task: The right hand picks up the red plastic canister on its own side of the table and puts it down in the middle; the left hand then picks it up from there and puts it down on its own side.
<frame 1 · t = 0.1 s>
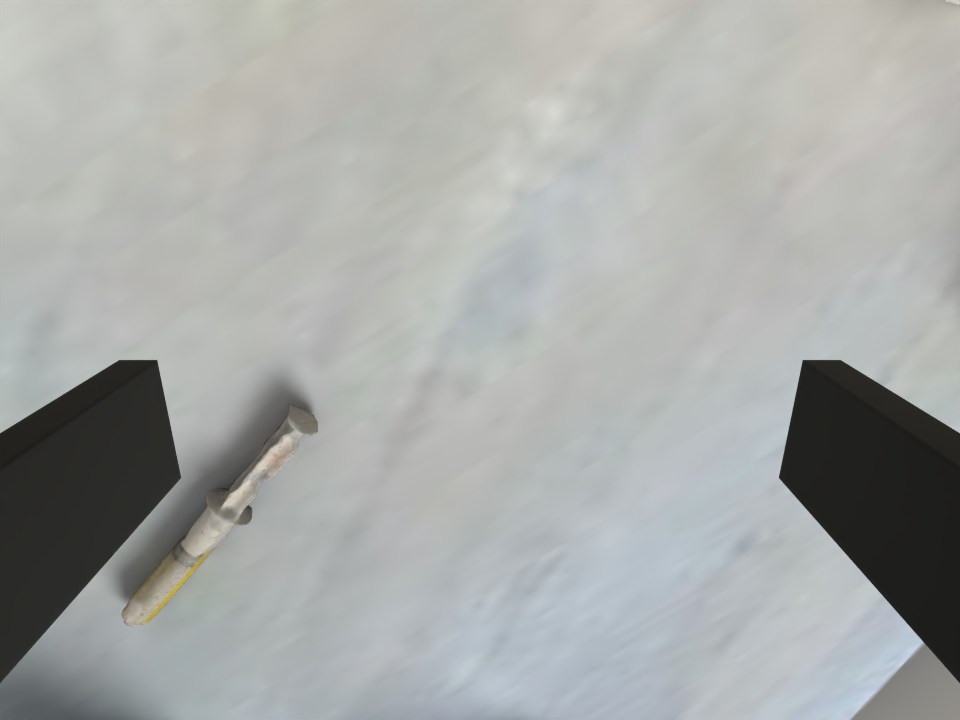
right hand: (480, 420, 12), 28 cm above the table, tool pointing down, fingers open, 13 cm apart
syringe: (218, 512, 46), on the table
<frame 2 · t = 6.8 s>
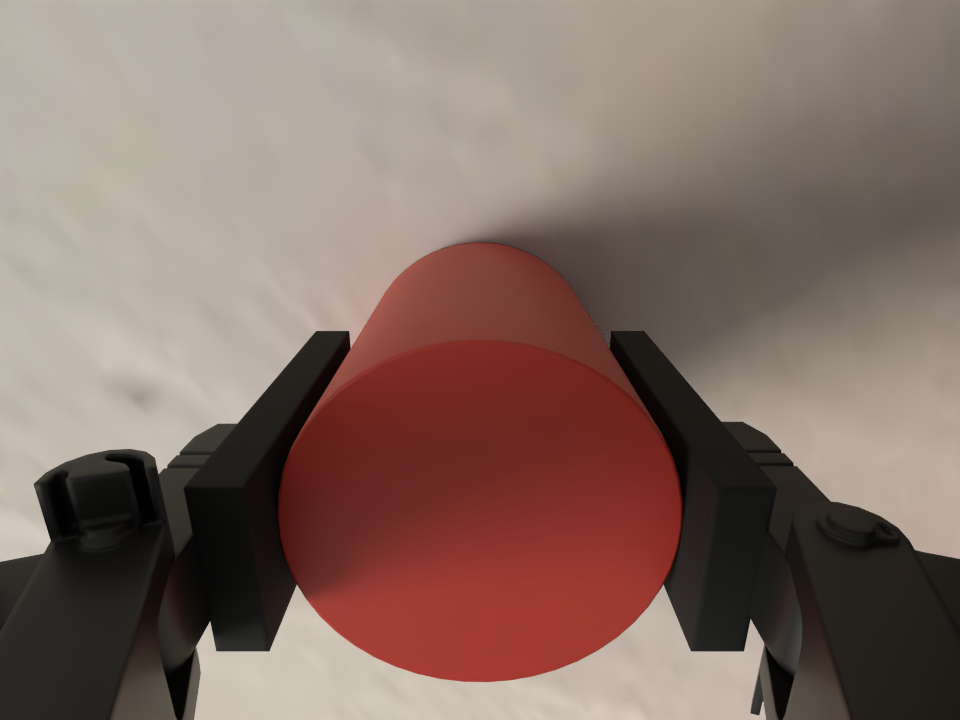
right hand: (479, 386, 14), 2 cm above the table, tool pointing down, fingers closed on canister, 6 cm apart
canister: (480, 353, 16), on the table, touching right hand
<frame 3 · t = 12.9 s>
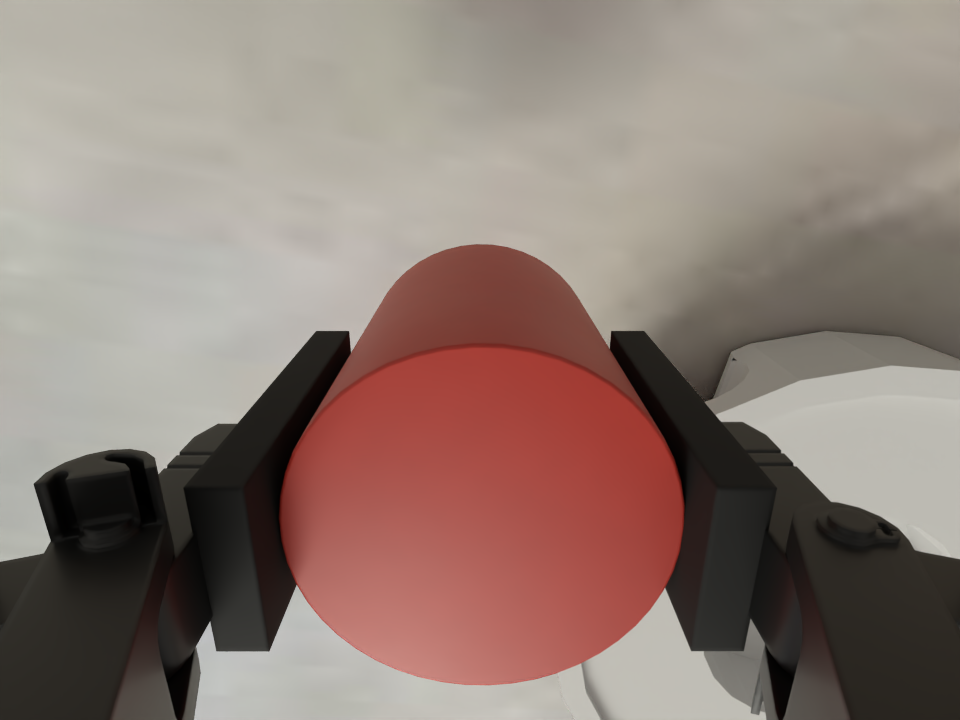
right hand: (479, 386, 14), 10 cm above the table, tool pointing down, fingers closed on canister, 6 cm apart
ashtray: (786, 563, 28), on the table
canister: (481, 354, 16), point 8 cm above the table, touching right hand
when the right hand's fingers open (4 cm above the table, at t = 19.4 s): canister drops 1 cm, on the table.
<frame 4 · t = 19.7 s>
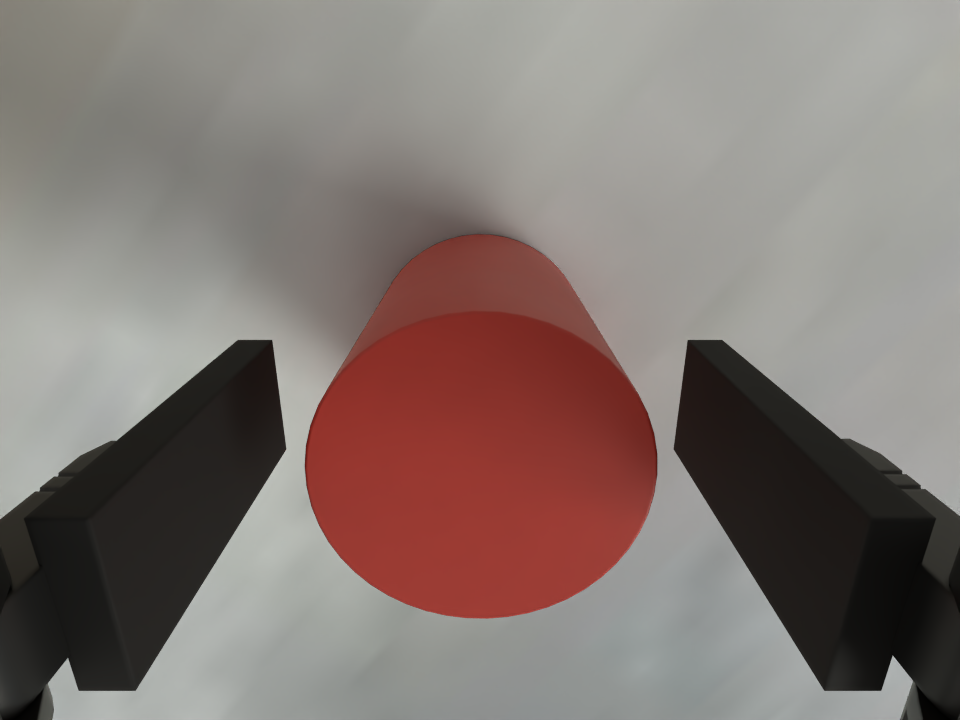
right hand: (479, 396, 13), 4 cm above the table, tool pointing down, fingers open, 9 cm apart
canister: (480, 337, 17), on the table
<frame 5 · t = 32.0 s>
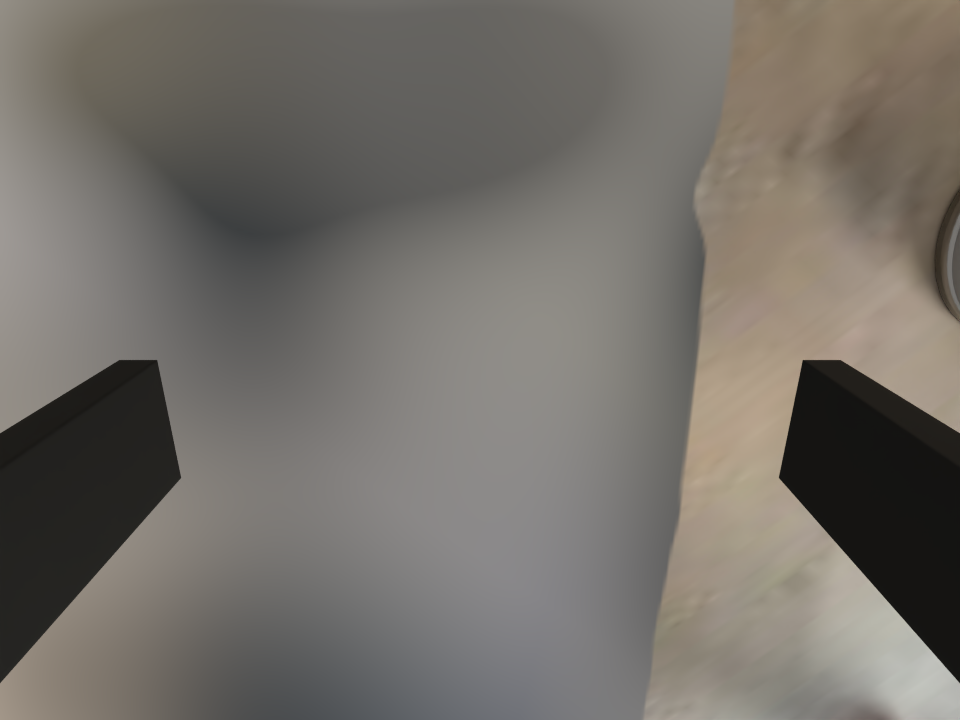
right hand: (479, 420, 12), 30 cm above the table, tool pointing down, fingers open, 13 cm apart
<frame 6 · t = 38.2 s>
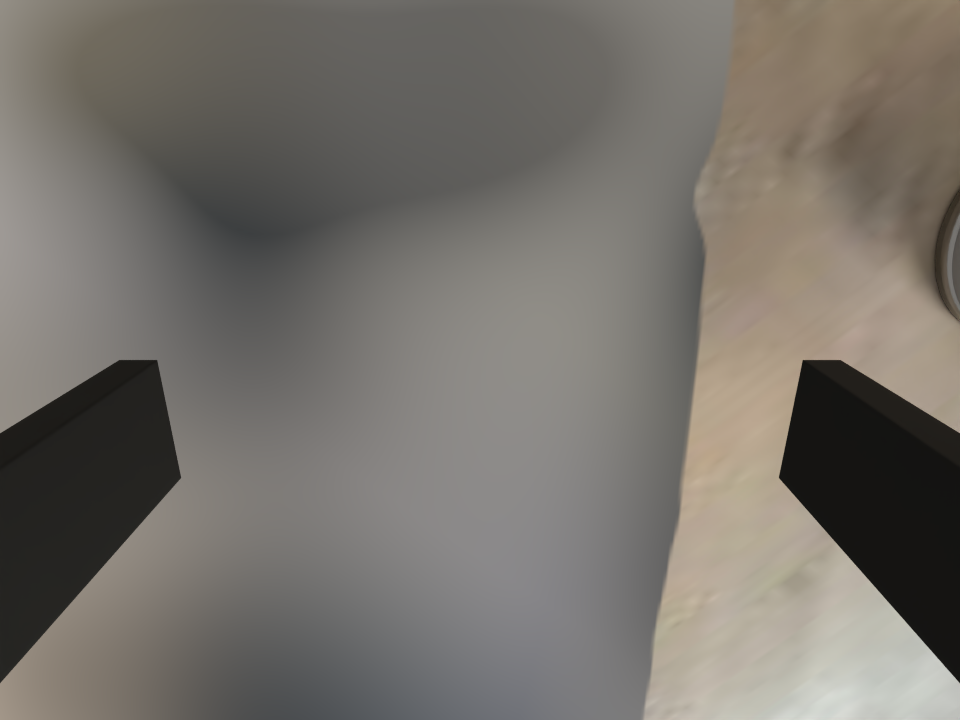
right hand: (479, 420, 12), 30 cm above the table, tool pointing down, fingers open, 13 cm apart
when the left hand's fingers open (4 cm above the table, at t = 44.9 s): canister drops 1 cm, on the table.
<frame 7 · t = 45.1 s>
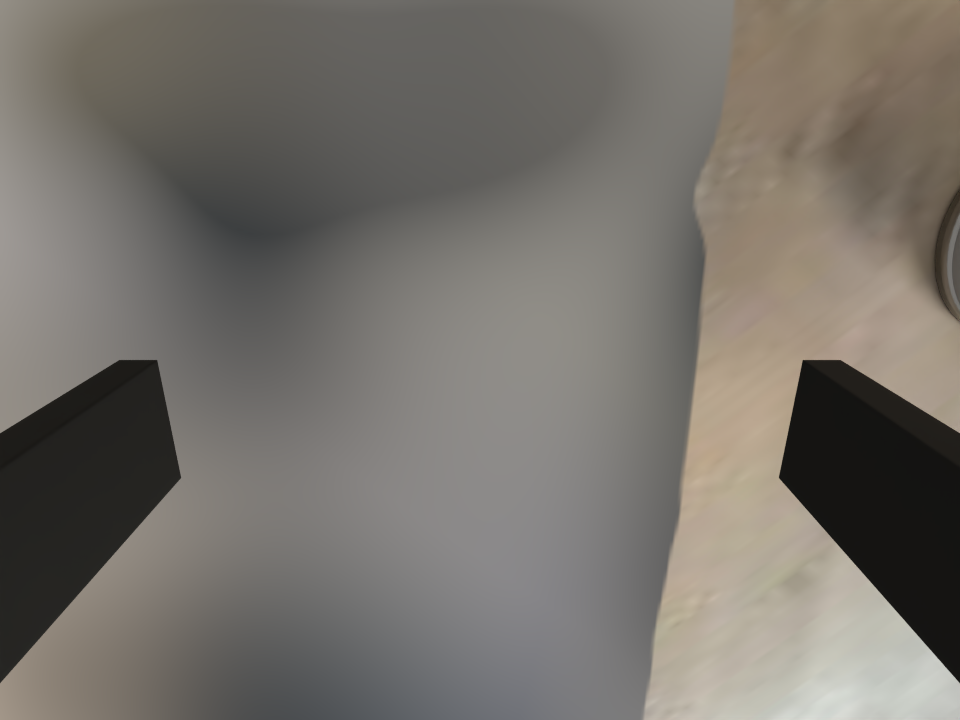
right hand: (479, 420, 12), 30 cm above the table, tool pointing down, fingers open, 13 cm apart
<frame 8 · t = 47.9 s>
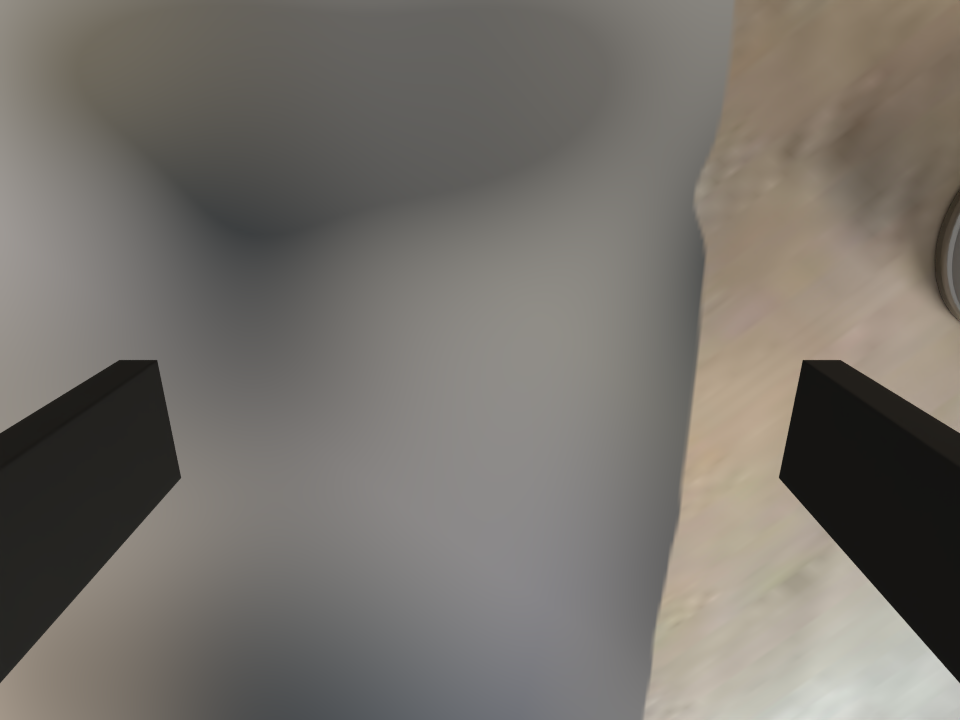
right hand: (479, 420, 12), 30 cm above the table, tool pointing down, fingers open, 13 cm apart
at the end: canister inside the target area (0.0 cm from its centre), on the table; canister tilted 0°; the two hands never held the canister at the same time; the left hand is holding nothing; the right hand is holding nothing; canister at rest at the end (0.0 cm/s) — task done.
